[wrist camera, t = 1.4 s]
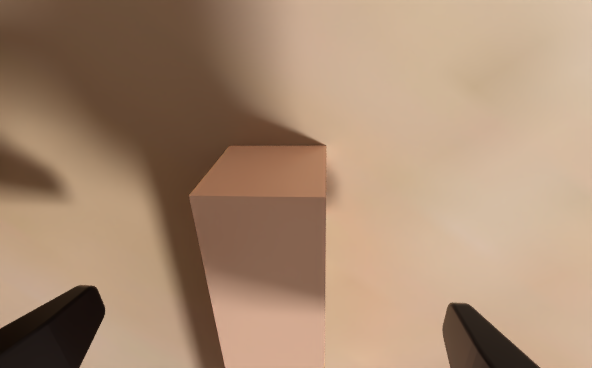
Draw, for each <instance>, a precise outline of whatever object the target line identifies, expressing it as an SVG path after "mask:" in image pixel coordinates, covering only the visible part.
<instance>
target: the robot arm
mask: <svg viewBox="0 0 592 368" xmlns="http://www.w3.org/2000/svg"><path fill="white" fill-rule="evenodd" d="M104 315H105V306H104V304H103V301H102V299H101V296H100V294H99V292H98V289H97V288H96V287H95V286H88V285H79V286H76V287H74V288H73V289H71V290H69V291H67V292H65V293H64V294H62V295H60V296H58V297H56V298H55V299H53V300H51V301H49V302H47V303H46V304H44V305H42V306H40V307H38V308H37V309H35V310H33V311H31V312H29V313H28V314H26V315H24V316H22V317H20V318H18V319H17V320H15V321H13V322H11V323H9V324H8V325H6V326H4V327H2V328H0V368H79V367H80V365H81V363H82V361H83V359H84V357H85V355H86V353H87V351H88V349H89V347H90V345H91V343H92V341H93V339H94V336H95V334H96V332H97V330H98V328H99V326H100V324H101V322H102V320H103V318H104ZM443 338H444V342H445V346H446V351H447V355H448V359H449V364H450V368H540V367H539V366H538V365H537V364H535V363H534V362H533V361H532V360H531V359H530V358H529V357H528V356H526V355H525V354H524V353H523V352H522V351H521V350H520V349H519V348H518V347H516V346H515V345H514V344H513V343H512V342H511V341H510V340H509V339H507V338H506V337H505V336H504V335H503V334H502V333H501V332H500V331H498V330H497V329H496V328H495V327H494V326H493V325H492V324H491V323H490V322H488V321H487V320H486V319H485V318H484V317H483V316H482V315H481V314H479V313H478V312H477V311H476V310H475V309H474V308H473V307H472V306H470V305H469V304H466V303H450V304H449V305H448V307H447V311H446V315H445V319H444V323H443Z"/></svg>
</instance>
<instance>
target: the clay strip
mask: <svg viewBox="0 0 592 368" xmlns="http://www.w3.org/2000/svg"><path fill="white" fill-rule="evenodd" d="M189 199H190V204H191V209H192V214H193V218H194V223H195V228H196V233H197V237H198V242H199V247H200V251H201V256H202V261H203V266H204V270H205V275H206V280H207V284H208V289H209V294H210V299H211V303H212V308H213V313H214V318H215V322H216V327H217V332H218V336H219V341H220V346H221V351H222V355H223V360H224V365H225V368H325V264H326V146H229V147H228V148H227V149H226V150H225V152H224V153H223V154H222V155H221V157H220V158H219V159H218V160H217V162H216V163H215V164H214V165H213V166H212V168H211V169H210V170H209V171H208V173H207V174H206V175H205V176H204V178H203V179H202V180H201V181H200V182H199V184H198V185H197V186H196V187H195V189H194V190H193V191H192V192H191V194H190V195H189Z"/></svg>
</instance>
